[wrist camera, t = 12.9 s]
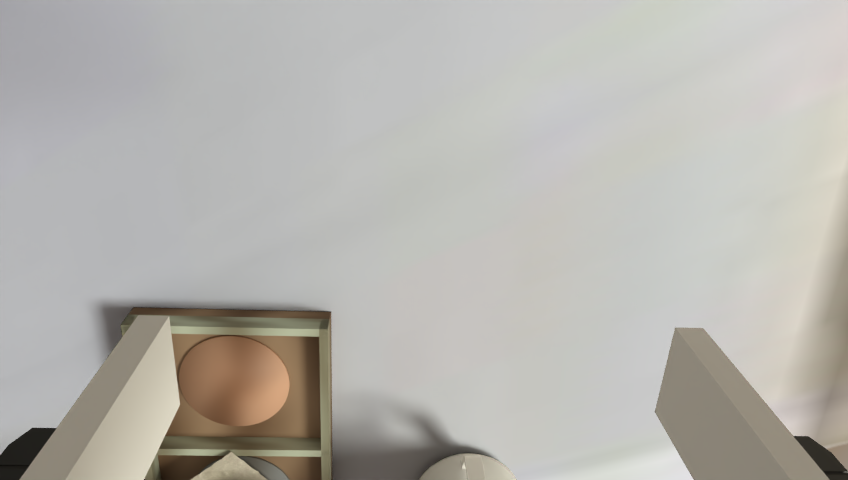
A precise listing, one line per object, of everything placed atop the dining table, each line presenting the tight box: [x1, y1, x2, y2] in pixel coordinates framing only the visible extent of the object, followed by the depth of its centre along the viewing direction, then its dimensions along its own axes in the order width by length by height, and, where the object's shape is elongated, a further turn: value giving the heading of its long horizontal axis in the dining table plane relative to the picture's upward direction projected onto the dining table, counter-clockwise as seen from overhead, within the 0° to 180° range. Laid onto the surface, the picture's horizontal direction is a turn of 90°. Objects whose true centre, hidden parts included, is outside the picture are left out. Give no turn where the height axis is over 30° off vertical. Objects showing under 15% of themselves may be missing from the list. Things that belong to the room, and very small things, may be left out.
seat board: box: [121, 307, 332, 480], centre depth 49 cm, size 14×22×2 cm, turn 177°
